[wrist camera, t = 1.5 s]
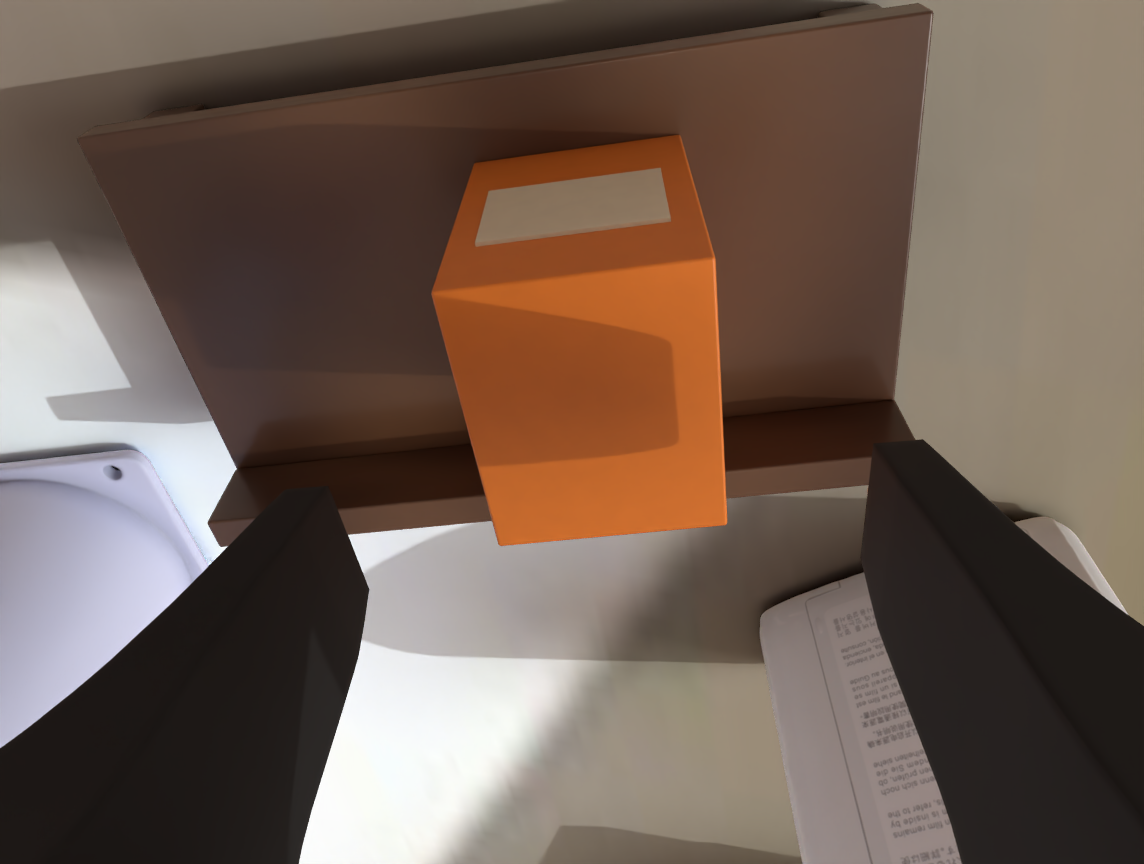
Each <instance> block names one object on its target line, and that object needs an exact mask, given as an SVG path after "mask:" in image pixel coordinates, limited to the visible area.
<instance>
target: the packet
mask: <svg viewBox="0 0 1144 864" xmlns="http://www.w3.org/2000/svg"><path fill="white" fill-rule="evenodd" d="M431 295H432V299H433V302H434V306H435V310H436V314H437V317H438V321H439V325H440V328H441V332H442V336H443V340H444V343H445V347H446V351H447V355H448V358H449V362H450V366H451V369H452V373H453V377H454V381H455V384H456V388H457V392H458V396H459V399H460V403H461V407H462V411H463V414H464V418H465V422H466V425H467V429H468V433H469V437H470V440H471V444H472V448H473V452H474V455H475V459H476V463H477V466H478V470H479V474H480V478H481V481H482V485H483V489H484V493H485V496H486V500H487V504H488V507H489V511H490V515H491V519H492V522H493V526H494V530H495V534H496V537H497V541H498V544H499V545H500V546H505V545H516V544H527V543H538V542H549V541H559V540H570V539H581V538H592V537H603V536H613V535H624V534H635V533H646V532H657V531H667V530H678V529H689V528H700V527H710V526H721V525H726V524H727V504H726V482H725V460H724V438H723V415H722V393H721V371H720V348H719V326H718V304H717V282H716V259H715V256H714V252H713V249H712V245H711V242H710V238H709V234H708V231H707V227H706V224H705V220H704V217H703V213H702V210H701V206H700V203H699V199H698V196H697V192H696V189H695V185H694V182H693V178H692V175H691V171H690V168H689V164H688V161H687V157H686V154H685V150H684V147H683V143H682V140H681V137H680V135H673V136H665V137H658V138H651V139H644V140H637V141H629V142H622V143H615V144H608V145H600V146H593V147H586V148H579V149H572V150H564V151H557V152H550V153H543V154H535V155H528V156H521V157H514V158H507V159H499V160H492V161H485V162H478V163H475V164H474V165H473V168H472V172H471V175H470V178H469V181H468V184H467V187H466V190H465V193H464V196H463V199H462V202H461V205H460V208H459V211H458V214H457V217H456V220H455V223H454V226H453V229H452V232H451V235H450V238H449V241H448V244H447V247H446V250H445V253H444V256H443V259H442V262H441V265H440V268H439V271H438V274H437V277H436V280H435V283H434V286H433V289H432V293H431Z"/></svg>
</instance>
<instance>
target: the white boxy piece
mask: <svg viewBox="0 0 1144 864" xmlns="http://www.w3.org/2000/svg"><path fill="white" fill-rule="evenodd" d="M1014 523H1015V524H1016V525H1017V526H1018V527H1019V528H1021V529H1022V530H1023V531H1024V532H1025V533H1026V534H1028V535H1029V536H1030V537H1031V538H1032V539H1033V540H1035V541H1036V542H1037V543H1038V544H1039V545H1040V546H1042V547H1043V548H1044V549H1045V550H1046V551H1048V552H1049V553H1050V554H1051V555H1052V556H1053V557H1055V558H1056V559H1057V560H1058V561H1059V562H1060V563H1062V564H1063V565H1064V566H1065V567H1067V568H1068V569H1069V570H1070V571H1072V572H1073V573H1074V574H1075V575H1076V576H1078V577H1079V578H1080V579H1082V580H1083V581H1084V582H1085V583H1087V584H1088V585H1089V586H1091V587H1092V588H1093V589H1095V590H1096V591H1097V592H1098V593H1100V594H1101V595H1102V596H1104V597H1105V598H1106V599H1108V600H1109V601H1110V602H1112V603H1113V604H1114V605H1115V606H1117V607H1118V608H1119V609H1121V610H1122V611H1123V612H1125V613H1126V614H1127V612H1126V610H1125V609H1124V607H1123V606H1122V604H1121V603H1120V601H1119V600H1118V598H1117V597H1116V595H1115V593H1114V592H1113V590H1112V589H1111V587H1110V586H1109V584H1108V583H1107V581H1106V580H1105V578H1104V577H1103V575H1102V573H1101V572H1100V570H1099V569H1098V567H1097V566H1096V564H1095V563H1094V561H1093V560H1092V558H1091V557H1090V555H1089V554H1088V552H1087V550H1086V549H1085V547H1084V546H1083V544H1082V543H1081V542H1080V540H1079V539H1078V537H1077V536H1076V535H1075V534H1074V533H1073V532H1072V531H1071V530H1070V529H1069V528H1067V527H1066V526H1064V525H1063V524H1061V523H1059V522H1056V521H1055V520H1054V519H1052V518H1049V517H1036V518H1030V519H1026V520H1022V521H1017V522H1014ZM1127 615H1128V614H1127ZM760 641H761V647H762V652H763V657H764V663H765V668H766V674H767V679H768V684H769V690H770V695H771V700H772V706H773V711H774V716H775V722H776V727H777V732H778V736H779V741H780V747H781V753H782V758H783V764H784V769H785V774H786V780H787V785H788V790H789V795H790V801H791V806H792V811H793V816H794V821H795V827H796V832H797V837H798V842H799V848H800V853H801V858H802V863H803V864H962V863H961V859H960V855H959V852H958V848H957V844H956V841H955V837H954V834H953V830H952V826H951V823H950V820H949V817H948V814H947V811H946V808H945V805H944V802H943V799H942V796H941V793H940V790H939V787H938V785H937V782H936V780H935V777H934V774H933V772H932V769H931V767H930V764H929V761H928V759H927V756H926V754H925V751H924V748H923V746H922V743H921V741H920V738H919V735H918V733H917V730H916V728H915V725H914V722H913V720H912V717H911V715H910V712H909V709H908V707H907V704H906V702H905V699H904V696H903V694H902V691H901V689H900V686H899V683H898V681H897V678H896V675H895V673H894V670H893V668H892V665H891V662H890V660H889V657H888V654H887V652H886V649H885V646H884V644H883V641H882V638H881V636H880V633H879V630H878V627H877V623H876V619H875V615H874V611H873V607H872V604H871V600H870V596H869V591H868V587H867V583H866V579H865V574H864V572H863V573H860V574H857V575H854V576H851V577H849V578H846V579H843V580H840V581H836V582H833V583H830V584H827V585H825V586H822V587H820V588H817V589H814V590H811V591H809V592H806V593H803V594H801V595H798V596H796V597H793V598H791V599H788V600H786V601H784V602H782V603H780V604H777V605H775V606H773V607H771V608H770V609H768V610H766V611H765V612H764V613H763V614H762V615H761V618H760Z"/></svg>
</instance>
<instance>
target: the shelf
mask: <svg viewBox="0 0 1144 864" xmlns="http://www.w3.org/2000/svg"><path fill="white" fill-rule="evenodd" d="M932 22H933V11H932V10H930V9H928V8H927V7H925V6H923V5H921V4H919V3H916V4H909V5H902V6H896V7H889V8H882V7H880V6H879V5H877V4H868V5H861V6H854V7H848V8H841V9H834V10H828V11H822V12H820V13H819V15H818V18H815V19H809V20H802V21H795V22H789V23H782V24H775V25H769V26H762V27H755V28H749V29H742V30H735V31H729V32H722V33H715V34H708V35H702V36H695V37H688V38H682V39H675V40H668V41H662V42H655V43H648V44H642V45H635V46H628V47H622V48H615V49H608V50H601V51H595V52H588V53H581V54H575V55H568V56H561V57H555V58H548V59H541V60H535V61H528V62H521V63H515V64H508V65H501V66H495V67H488V68H481V69H474V70H468V71H461V72H454V73H448V74H441V75H434V76H428V77H421V78H414V79H408V80H401V81H394V82H388V83H381V84H374V85H367V86H361V87H354V88H347V89H341V90H334V91H327V92H321V93H314V94H307V95H301V96H294V97H287V98H281V99H274V100H267V101H261V102H254V103H247V104H240V105H234V106H227V107H220V108H214V109H207V110H205V107H204V105H202V104H200V105H193V106H187V107H180V108H173V109H167V110H160V111H154V112H152V113H151V114H149V115H148V116H146V117H145V118H143V119H140V120H133V121H127V122H120V123H113V124H107V125H100V126H95V127H94V128H92V129H91V130H89V131H87V132H86V133H84V134H83V135H81V136H79V137H78V138H77V141H78V143H79V145H80V147H81V149H82V151H83V153H84V155H85V157H86V159H87V161H88V163H89V165H90V168H91V170H92V172H93V174H94V176H95V178H96V180H97V182H98V184H99V186H100V188H101V190H102V192H103V194H104V196H105V198H106V200H107V202H108V205H109V207H110V209H111V211H112V213H113V215H114V217H115V219H116V221H117V223H118V225H119V227H120V229H121V231H122V233H123V235H124V237H125V240H126V242H127V244H128V246H129V248H130V250H131V252H132V254H133V256H134V258H135V260H136V262H137V264H138V266H139V268H140V270H141V272H142V274H143V277H144V279H145V281H146V283H147V285H148V287H149V289H150V291H151V293H152V295H153V297H154V299H155V301H156V303H157V305H158V307H159V309H160V311H161V314H162V316H163V318H164V320H165V322H166V324H167V326H168V328H169V330H170V332H171V334H172V336H173V338H174V340H175V342H176V344H177V346H178V348H179V351H180V353H181V355H182V357H183V359H184V361H185V363H186V365H187V367H188V369H189V371H190V373H191V375H192V377H193V379H194V381H195V383H196V386H197V388H198V390H199V392H200V394H201V396H202V398H203V400H204V402H205V404H206V406H207V408H208V410H209V412H210V414H211V416H212V418H213V420H214V423H215V425H216V427H217V429H218V431H219V433H220V435H221V437H222V439H223V441H224V443H225V445H226V447H227V449H228V451H229V453H230V455H231V457H232V460H233V462H234V464H235V466H236V468H237V470H236V471H235V472H234V474H233V476H232V478H231V480H230V482H229V483H228V485H227V487H226V489H225V491H224V493H223V495H222V496H221V498H220V500H219V502H218V504H217V506H216V508H215V509H214V511H213V513H212V515H211V517H210V519H209V521H208V525H209V527H210V529H211V531H212V533H213V535H214V537H215V538H216V540H217V542H218V544H219V546H221V547H224V546H229V545H230V544H231V543H232V542H233V541H234V540H235V539H236V538H237V537H238V536H239V535H240V534H241V533H242V532H243V531H244V530H245V529H246V528H247V527H248V526H249V525H250V524H251V522H252V521H253V520H254V519H255V518H256V517H257V516H258V515H259V514H260V513H261V512H262V511H263V510H264V509H265V508H266V507H267V506H268V505H269V504H270V503H271V502H272V501H274V500H275V499H276V498H277V497H278V496H279V495H280V494H281V493H282V492H283V491H284V490H285V489H294V488H307V487H320V486H329V489H330V491H331V494H332V496H333V499H334V502H335V504H336V507H337V509H338V512H339V514H340V517H341V519H342V522H343V524H344V527H345V529H346V532H347V534H348V535H350V534H360V533H371V532H381V531H391V530H402V529H412V528H423V527H433V526H444V525H454V524H465V523H475V522H485V521H492V519H491V515H490V511H489V507H488V504H487V500H486V496H485V493H484V489H483V485H482V481H481V478H480V474H479V470H478V466H477V463H476V459H475V455H474V452H473V448H472V444H471V440H470V437H469V433H468V429H467V425H466V422H465V418H464V414H463V411H462V407H461V403H460V399H459V396H458V392H457V388H456V384H455V381H454V377H453V373H452V369H451V366H450V362H449V358H448V355H447V351H446V347H445V343H444V340H443V336H442V332H441V328H440V325H439V321H438V317H437V314H436V310H435V306H434V302H433V299H432V295H431V293H432V289H433V286H434V283H435V280H436V277H437V274H438V271H439V268H440V265H441V262H442V259H443V256H444V253H445V250H446V247H447V244H448V241H449V238H450V235H451V232H452V229H453V226H454V223H455V220H456V217H457V214H458V211H459V208H460V205H461V202H462V199H463V196H464V193H465V190H466V187H467V184H468V181H469V178H470V175H471V172H472V168H473V165H474V164H475V163H478V162H485V161H492V160H499V159H507V158H514V157H521V156H528V155H535V154H543V153H550V152H557V151H564V150H572V149H579V148H586V147H593V146H600V145H608V144H615V143H622V142H629V141H637V140H644V139H651V138H658V137H665V136H673V135H680V137H681V140H682V143H683V147H684V150H685V154H686V157H687V161H688V164H689V168H690V171H691V175H692V178H693V182H694V185H695V189H696V192H697V196H698V199H699V203H700V206H701V210H702V213H703V217H704V220H705V224H706V227H707V231H708V234H709V238H710V242H711V245H712V249H713V252H714V256H715V259H716V282H717V304H718V326H719V348H720V371H721V393H722V415H723V438H724V460H725V482H726V498H736V497H746V496H757V495H767V494H778V493H788V492H799V491H809V490H820V489H830V488H840V487H851V486H861V485H869V478H870V469H871V460H872V451H873V443H884V442H897V441H910V440H915V438H914V436H913V434H912V433H911V431H910V429H909V427H908V425H907V423H906V421H905V419H904V417H903V415H902V413H901V411H900V410H899V408H898V406H897V404H896V402H895V401H894V396H895V386H896V376H897V366H898V356H899V346H900V337H901V327H902V317H903V307H904V297H905V287H906V278H907V268H908V258H909V248H910V238H911V229H912V219H913V209H914V199H915V189H916V179H917V170H918V160H919V150H920V140H921V130H922V120H923V111H924V101H925V91H926V81H927V71H928V62H929V52H930V42H931V32H932Z"/></svg>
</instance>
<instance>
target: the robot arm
mask: <svg viewBox="0 0 1144 864" xmlns="http://www.w3.org/2000/svg"><path fill="white" fill-rule="evenodd" d="M112 466H114V467H116V468H118V469H119V470H120V471H118V470H116V469H114V468H112ZM861 561H862V566H863V570H864V574H865V579H866V583H867V587H868V591H869V596H870V600H871V604H872V607H873V611H874V615H875V619H876V623H877V627H878V630H879V633H880V636H881V638H882V641H883V644H884V646H885V649H886V652H887V654H888V657H889V660H890V662H891V665H892V668H893V670H894V673H895V675H896V678H897V681H898V683H899V686H900V689H901V691H902V694H903V696H904V699H905V702H906V704H907V707H908V709H909V712H910V715H911V717H912V720H913V722H914V725H915V728H916V730H917V733H918V735H919V738H920V741H921V743H922V746H923V748H924V751H925V754H926V756H927V759H928V761H929V764H930V767H931V769H932V772H933V774H934V777H935V780H936V782H937V785H938V787H939V790H940V793H941V796H942V799H943V802H944V805H945V808H946V811H947V814H948V817H949V820H950V823H951V826H952V830H953V834H954V837H955V841H956V844H957V848H958V852H959V855H960V859H961V863H962V864H1144V626H1143V625H1141V624H1140V623H1138V622H1137V621H1136V620H1134V619H1133V618H1131V617H1130V616H1129V615H1127V614H1126V613H1125V612H1123V611H1122V610H1121V609H1119V608H1118V607H1117V606H1115V605H1114V604H1113V603H1112V602H1110V601H1109V600H1108V599H1106V598H1105V597H1104V596H1102V595H1101V594H1100V593H1098V592H1097V591H1096V590H1095V589H1093V588H1092V587H1091V586H1089V585H1088V584H1087V583H1085V582H1084V581H1083V580H1082V579H1080V578H1079V577H1078V576H1076V575H1075V574H1074V573H1073V572H1072V571H1070V570H1069V569H1068V568H1067V567H1065V566H1064V565H1063V564H1062V563H1060V562H1059V561H1058V560H1057V559H1056V558H1055V557H1053V556H1052V555H1051V554H1050V553H1049V552H1048V551H1046V550H1045V549H1044V548H1043V547H1042V546H1040V545H1039V544H1038V543H1037V542H1036V541H1035V540H1033V539H1032V538H1031V537H1030V536H1029V535H1028V534H1026V533H1025V532H1024V531H1023V530H1022V529H1021V528H1019V527H1018V526H1017V525H1016V524H1015V523H1014V522H1013V521H1011V520H1010V519H1009V518H1008V517H1007V516H1006V515H1005V514H1004V513H1003V512H1001V511H1000V510H999V509H998V508H997V507H996V506H995V505H994V504H993V503H992V502H990V501H989V500H988V499H987V498H986V497H985V496H984V495H983V494H982V493H981V492H979V491H978V490H977V489H976V488H975V487H974V486H973V485H972V484H971V483H970V482H969V481H968V480H967V479H965V478H964V477H963V476H962V475H961V474H960V473H959V472H958V471H957V470H956V469H955V468H954V467H953V466H952V465H950V464H949V463H948V462H947V461H946V460H945V459H944V458H943V457H942V456H941V455H940V454H939V453H938V452H936V451H935V450H934V449H933V448H932V447H931V446H930V445H929V444H928V443H926V442H925V441H924V440H910V441H897V442H884V443H873V451H872V460H871V469H870V478H869V487H868V496H867V505H866V514H865V523H864V532H863V541H862V550H861ZM368 594H369V588H368V585H367V582H366V580H365V577H364V575H363V572H362V570H361V567H360V565H359V562H358V560H357V557H356V555H355V552H354V550H353V547H352V545H351V542H350V539H349V537H348V534H347V532H346V529H345V527H344V524H343V522H342V519H341V517H340V514H339V512H338V509H337V507H336V504H335V502H334V499H333V496H332V494H331V491H330V489H329V486H320V487H307V488H294V489H285V490H284V491H283V492H282V493H281V494H280V495H279V496H278V497H277V498H276V499H275V500H274V501H272V502H271V503H270V504H269V505H268V506H267V507H266V508H265V509H264V510H263V511H262V512H261V513H260V514H259V515H258V516H257V517H256V518H255V519H254V520H253V521H252V522H251V524H250V525H249V526H248V527H247V528H246V529H245V530H244V531H243V532H242V533H241V534H240V535H239V536H238V537H237V538H236V539H235V540H234V541H233V542H232V543H231V544H230V545H229V546H228V547H227V548H226V549H225V550H224V551H223V552H222V553H221V554H220V555H219V556H218V557H217V558H216V559H215V560H214V561H213V562H212V563H211V564H210V565H208V563H207V561H206V560H205V558H204V556H203V554H202V552H201V551H200V549H199V547H198V545H197V543H196V542H195V540H194V538H193V536H192V535H191V533H190V531H189V529H188V527H187V526H186V524H185V522H184V520H183V519H182V517H181V515H180V513H179V511H178V510H177V508H176V506H175V504H174V502H173V501H172V499H171V497H170V495H169V494H168V492H167V490H166V488H165V486H164V485H163V483H162V481H161V479H160V478H159V476H158V474H157V472H156V470H155V469H154V467H153V465H152V463H151V461H150V460H149V459H148V458H147V457H146V456H145V455H144V454H142V453H141V452H138V451H135V450H119V451H109V452H100V453H91V454H82V455H73V456H63V457H54V458H45V459H36V460H27V461H18V462H8V463H0V864H299V859H300V854H301V849H302V845H303V841H304V837H305V833H306V829H307V826H308V822H309V818H310V814H311V810H312V807H313V804H314V801H315V797H316V794H317V791H318V788H319V785H320V781H321V778H322V775H323V772H324V768H325V765H326V762H327V759H328V755H329V752H330V749H331V746H332V742H333V739H334V736H335V733H336V730H337V726H338V723H339V720H340V717H341V713H342V710H343V707H344V703H345V700H346V697H347V693H348V690H349V687H350V683H351V680H352V677H353V673H354V670H355V666H356V663H357V659H358V655H359V650H360V644H361V639H362V633H363V627H364V621H365V614H366V608H367V601H368Z"/></svg>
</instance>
